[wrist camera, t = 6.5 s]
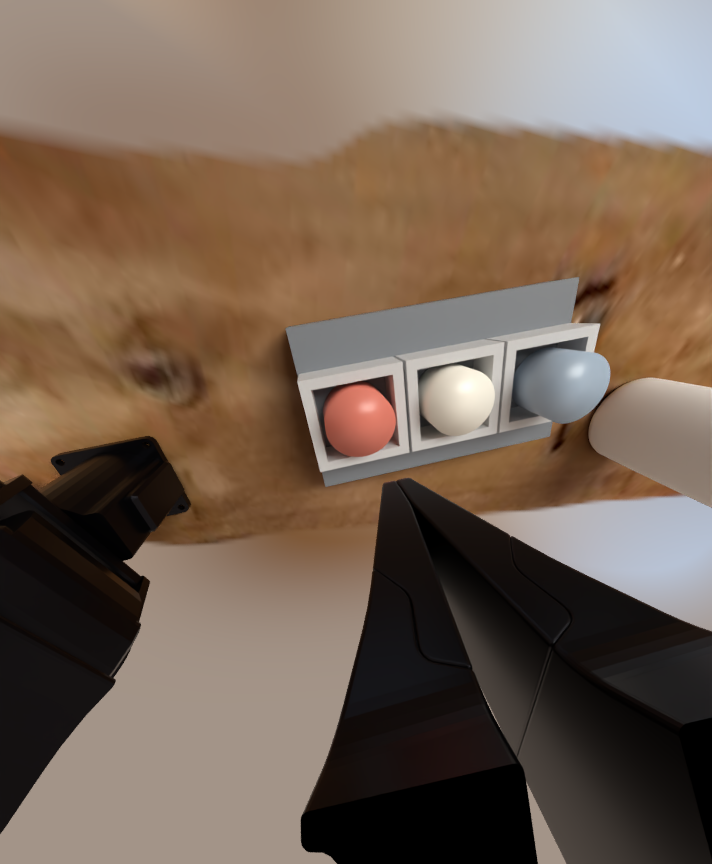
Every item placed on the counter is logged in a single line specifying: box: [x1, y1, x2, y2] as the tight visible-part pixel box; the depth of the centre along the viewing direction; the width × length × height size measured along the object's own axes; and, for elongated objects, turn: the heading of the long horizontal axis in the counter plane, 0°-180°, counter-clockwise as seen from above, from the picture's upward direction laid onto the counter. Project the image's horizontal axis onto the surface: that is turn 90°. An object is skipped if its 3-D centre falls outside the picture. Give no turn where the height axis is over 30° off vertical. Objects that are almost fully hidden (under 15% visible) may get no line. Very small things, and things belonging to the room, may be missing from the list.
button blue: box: [512, 347, 610, 424], centre depth 16 cm, size 4×4×2 cm
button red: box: [323, 381, 396, 457], centre depth 16 cm, size 4×4×2 cm
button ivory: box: [418, 363, 495, 436], centre depth 16 cm, size 4×4×2 cm
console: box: [286, 277, 600, 487], centre depth 18 cm, size 18×11×4 cm, turn 99°
